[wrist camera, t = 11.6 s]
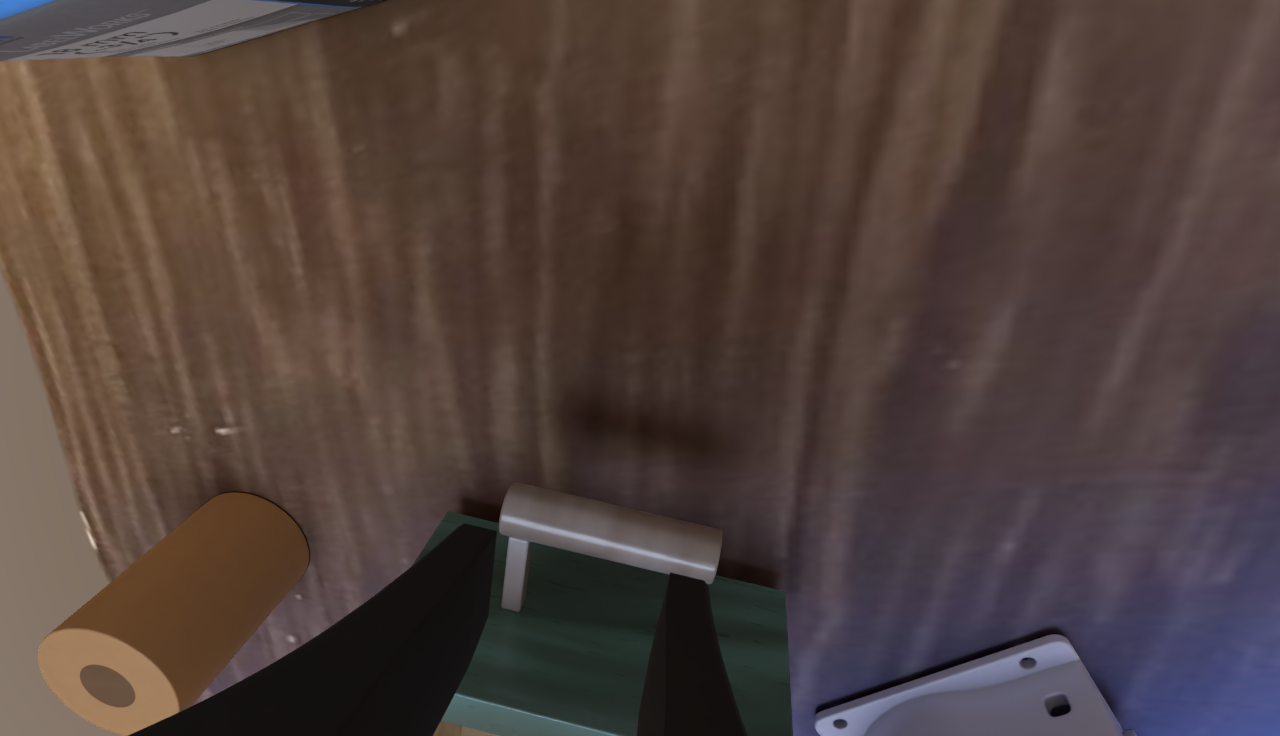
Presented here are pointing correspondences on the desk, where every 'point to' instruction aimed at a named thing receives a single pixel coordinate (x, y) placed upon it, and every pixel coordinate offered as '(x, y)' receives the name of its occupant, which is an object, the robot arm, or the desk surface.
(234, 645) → the paper roll
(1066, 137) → the desk surface
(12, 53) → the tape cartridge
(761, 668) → the drawer
